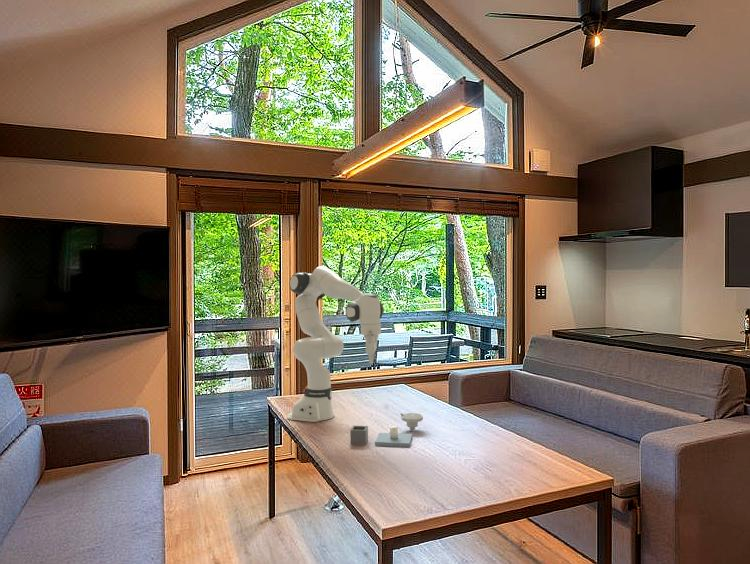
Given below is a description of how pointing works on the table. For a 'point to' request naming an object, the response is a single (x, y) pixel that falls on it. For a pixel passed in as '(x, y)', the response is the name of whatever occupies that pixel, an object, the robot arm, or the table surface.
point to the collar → (359, 435)
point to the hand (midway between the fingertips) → (371, 361)
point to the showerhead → (412, 420)
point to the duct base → (394, 442)
